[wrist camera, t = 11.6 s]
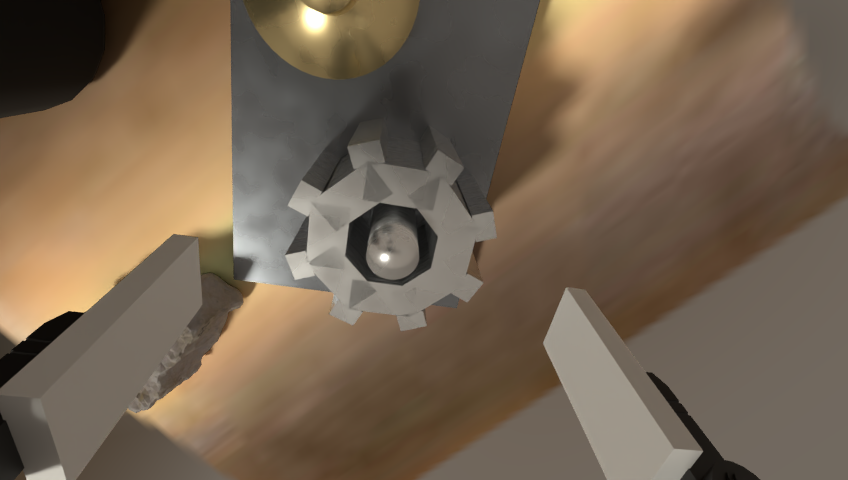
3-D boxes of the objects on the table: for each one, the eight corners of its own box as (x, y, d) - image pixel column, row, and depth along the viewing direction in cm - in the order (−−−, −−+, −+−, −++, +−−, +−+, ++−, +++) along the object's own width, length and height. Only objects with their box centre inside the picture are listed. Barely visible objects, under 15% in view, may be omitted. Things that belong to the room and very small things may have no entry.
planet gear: (318, 104, 22) (291, 123, 16) (490, 137, 23) (518, 164, 18) (306, 260, 26) (281, 316, 21) (453, 280, 27) (466, 339, 22)
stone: (171, 228, 26) (114, 274, 21) (268, 304, 29) (240, 361, 24) (87, 312, 29) (17, 372, 23) (184, 374, 32) (142, 440, 26)
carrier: (241, -145, 18) (128, -282, 11) (549, -66, 20) (638, -133, 13) (241, 268, 28) (181, 352, 20) (454, 296, 30) (472, 383, 22)
